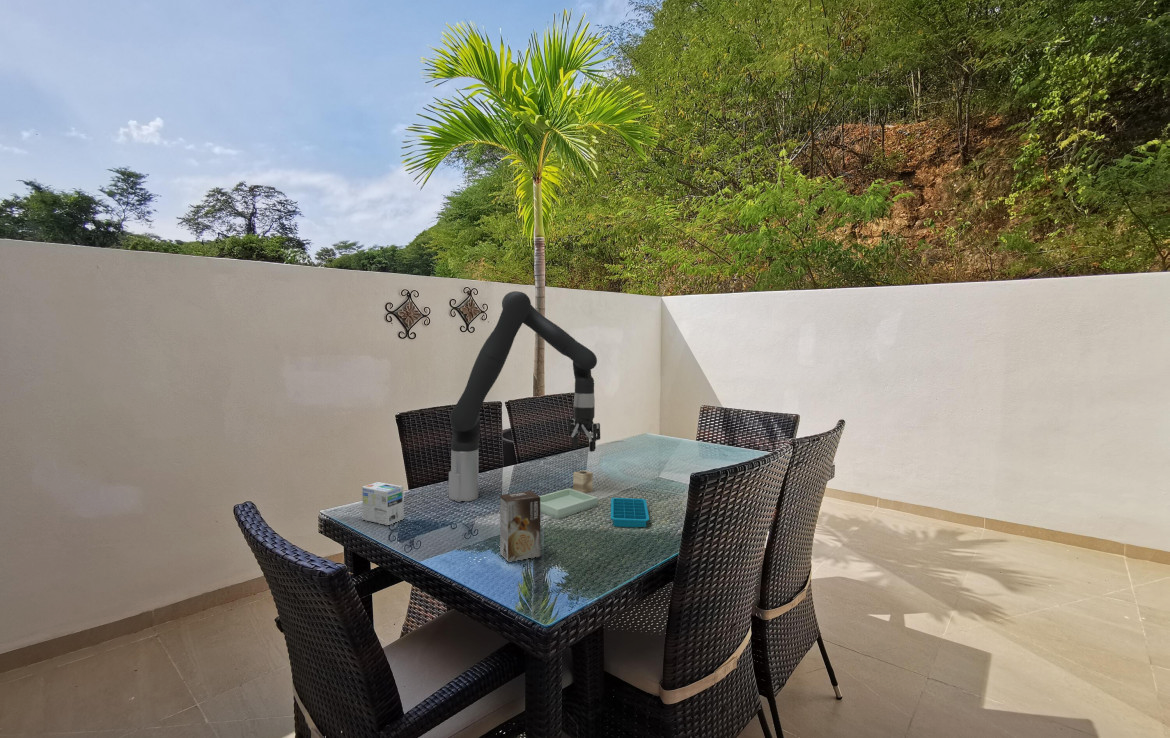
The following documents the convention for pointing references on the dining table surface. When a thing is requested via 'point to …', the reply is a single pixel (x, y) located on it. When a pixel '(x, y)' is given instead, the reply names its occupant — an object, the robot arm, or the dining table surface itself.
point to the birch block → (583, 481)
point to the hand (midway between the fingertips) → (583, 449)
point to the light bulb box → (383, 503)
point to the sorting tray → (566, 503)
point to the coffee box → (520, 526)
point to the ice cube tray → (629, 512)
